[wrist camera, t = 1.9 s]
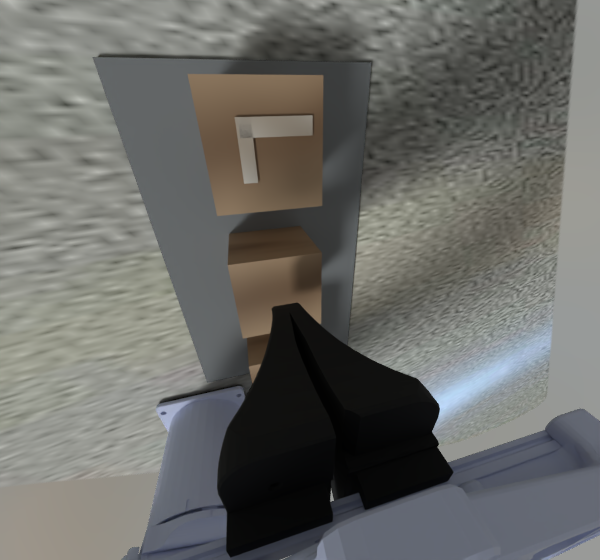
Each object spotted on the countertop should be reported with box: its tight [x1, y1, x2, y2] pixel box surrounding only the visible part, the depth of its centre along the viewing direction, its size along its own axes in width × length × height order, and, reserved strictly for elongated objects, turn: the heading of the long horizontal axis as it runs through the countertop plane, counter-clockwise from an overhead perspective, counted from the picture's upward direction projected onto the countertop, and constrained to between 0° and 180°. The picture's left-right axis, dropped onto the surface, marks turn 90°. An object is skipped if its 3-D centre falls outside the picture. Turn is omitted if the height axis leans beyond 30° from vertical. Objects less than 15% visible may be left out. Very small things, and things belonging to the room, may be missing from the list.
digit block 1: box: [247, 333, 270, 384], centre depth 20 cm, size 5×5×5 cm
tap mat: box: [93, 57, 371, 382], centre depth 18 cm, size 23×14×1 cm, turn 3°
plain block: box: [228, 226, 322, 338], centre depth 16 cm, size 5×5×5 cm
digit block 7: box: [188, 74, 323, 216], centre depth 12 cm, size 5×5×5 cm
